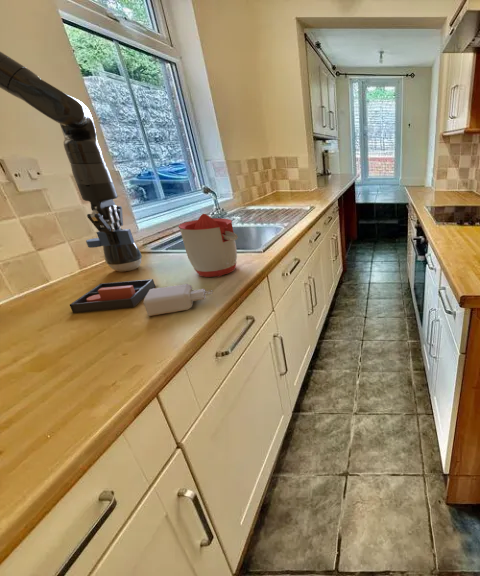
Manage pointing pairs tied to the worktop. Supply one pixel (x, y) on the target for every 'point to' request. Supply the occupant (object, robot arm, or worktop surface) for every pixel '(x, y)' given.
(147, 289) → the cutlery tray
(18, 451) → the worktop surface
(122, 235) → the slate-blue spoon
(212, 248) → the citrus juicer
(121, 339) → the worktop surface
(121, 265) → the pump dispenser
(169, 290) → the charger
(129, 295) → the terracotta spoon
